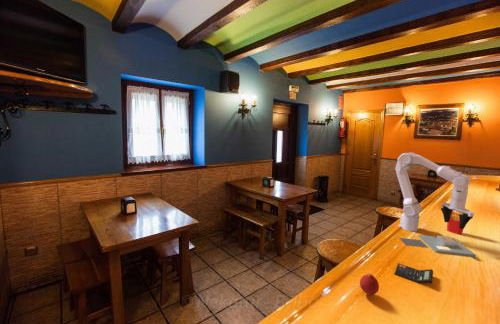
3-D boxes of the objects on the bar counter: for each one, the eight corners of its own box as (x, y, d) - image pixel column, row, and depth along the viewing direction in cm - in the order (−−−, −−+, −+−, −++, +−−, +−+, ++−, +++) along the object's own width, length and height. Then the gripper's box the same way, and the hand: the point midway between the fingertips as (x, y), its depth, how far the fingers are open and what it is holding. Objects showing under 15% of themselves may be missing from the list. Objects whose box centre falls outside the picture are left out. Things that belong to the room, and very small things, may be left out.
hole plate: (418, 238, 126) (418, 234, 126) (452, 242, 123) (453, 238, 123) (435, 254, 111) (436, 249, 110) (475, 258, 108) (476, 254, 107)
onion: (371, 288, 85) (374, 268, 84) (381, 300, 80) (384, 278, 78) (355, 288, 85) (358, 268, 84) (364, 300, 80) (366, 278, 78)
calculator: (398, 264, 102) (399, 258, 101) (432, 276, 94) (433, 269, 94) (394, 275, 94) (395, 268, 94) (430, 288, 87) (432, 281, 87)
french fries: (444, 230, 138) (447, 210, 136) (446, 228, 140) (450, 209, 138) (463, 236, 131) (467, 215, 129) (465, 234, 133) (469, 213, 131)
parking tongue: (398, 239, 124) (398, 237, 124) (419, 241, 122) (420, 239, 122) (405, 247, 116) (405, 245, 116) (428, 249, 115) (428, 247, 115)
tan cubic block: (435, 244, 120) (437, 235, 119) (447, 246, 119) (448, 236, 118) (441, 249, 115) (443, 240, 114) (453, 251, 114) (455, 241, 113)
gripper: (437, 194, 125) (433, 219, 127) (466, 203, 110) (461, 231, 112) (449, 194, 126) (445, 219, 128) (479, 203, 111) (474, 231, 114)
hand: (453, 225), depth 120 cm, fingers open, 7 cm apart
